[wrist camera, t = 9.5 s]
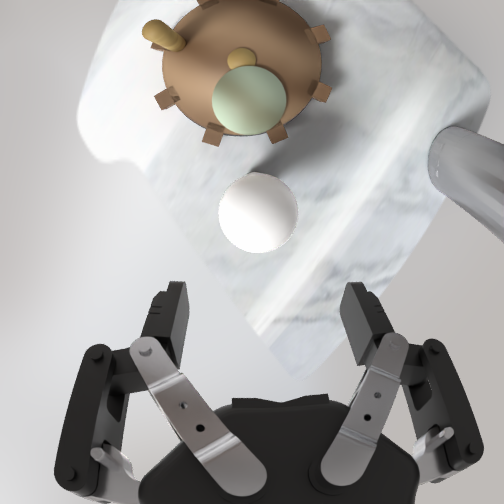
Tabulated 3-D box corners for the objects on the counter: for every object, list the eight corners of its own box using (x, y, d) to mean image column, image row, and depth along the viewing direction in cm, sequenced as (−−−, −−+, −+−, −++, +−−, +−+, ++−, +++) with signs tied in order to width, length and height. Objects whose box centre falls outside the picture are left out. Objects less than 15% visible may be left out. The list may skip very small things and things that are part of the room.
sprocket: (190, -25, 16) (170, -63, 8) (352, 28, 19) (395, 9, 12) (135, 119, 24) (92, 135, 17) (291, 167, 28) (310, 201, 20)
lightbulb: (291, 160, 28) (316, 200, 19) (276, 214, 31) (290, 274, 22) (230, 147, 27) (223, 180, 18) (220, 203, 30) (209, 261, 21)
